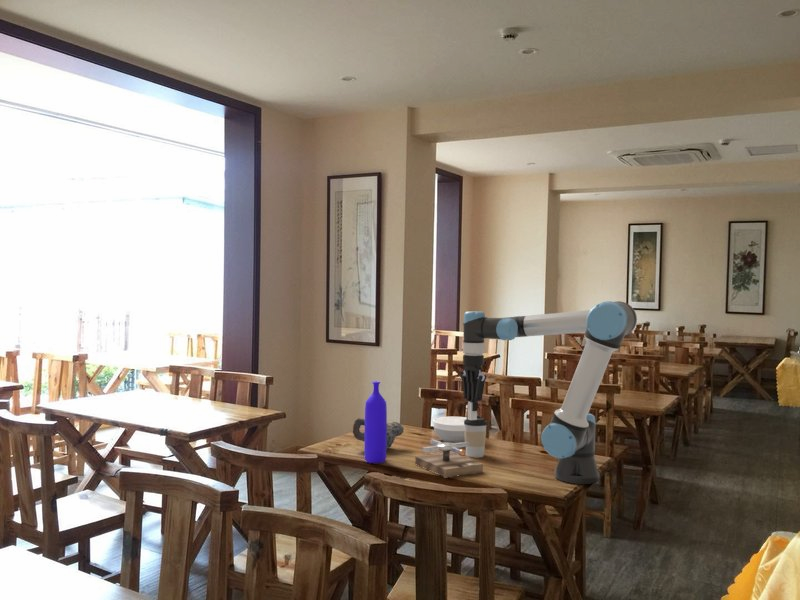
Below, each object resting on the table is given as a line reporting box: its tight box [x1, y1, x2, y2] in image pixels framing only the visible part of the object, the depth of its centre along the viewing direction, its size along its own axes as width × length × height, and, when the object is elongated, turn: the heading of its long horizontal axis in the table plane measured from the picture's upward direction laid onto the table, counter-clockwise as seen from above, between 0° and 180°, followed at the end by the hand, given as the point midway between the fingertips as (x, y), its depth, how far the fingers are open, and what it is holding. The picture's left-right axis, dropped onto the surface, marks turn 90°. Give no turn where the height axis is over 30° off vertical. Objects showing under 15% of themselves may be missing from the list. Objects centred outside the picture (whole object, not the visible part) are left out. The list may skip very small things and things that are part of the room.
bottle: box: [363, 380, 388, 464], centre depth 256 cm, size 8×8×30 cm
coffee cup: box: [464, 415, 488, 458], centre depth 267 cm, size 9×9×15 cm
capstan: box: [422, 439, 469, 457], centre depth 246 cm, size 21×19×2 cm
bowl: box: [432, 415, 468, 443], centre depth 291 cm, size 19×19×9 cm
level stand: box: [414, 451, 484, 479], centre depth 247 cm, size 20×16×7 cm
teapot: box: [352, 417, 405, 450], centre depth 275 cm, size 21×12×15 cm, turn 108°
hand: (472, 419), depth 245 cm, fingers closed
